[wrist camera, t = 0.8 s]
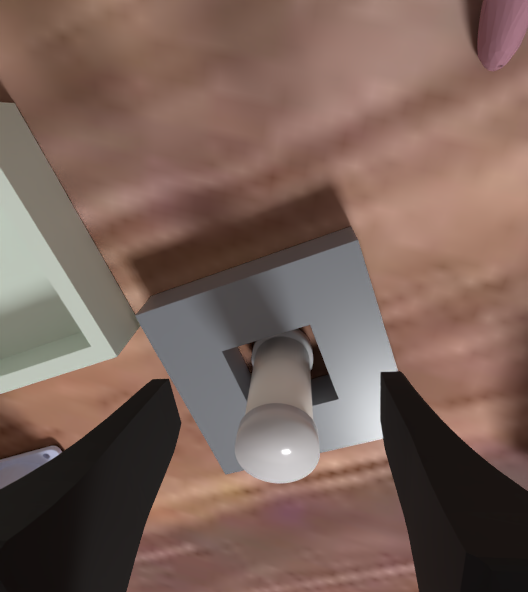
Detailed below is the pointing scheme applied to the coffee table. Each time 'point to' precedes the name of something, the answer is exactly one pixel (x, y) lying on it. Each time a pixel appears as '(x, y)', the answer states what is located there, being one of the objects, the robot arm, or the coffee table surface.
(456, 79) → the coffee table surface
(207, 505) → the coffee table surface
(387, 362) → the grey square frame
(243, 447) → the cylinder
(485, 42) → the video game controller
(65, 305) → the parts tray
